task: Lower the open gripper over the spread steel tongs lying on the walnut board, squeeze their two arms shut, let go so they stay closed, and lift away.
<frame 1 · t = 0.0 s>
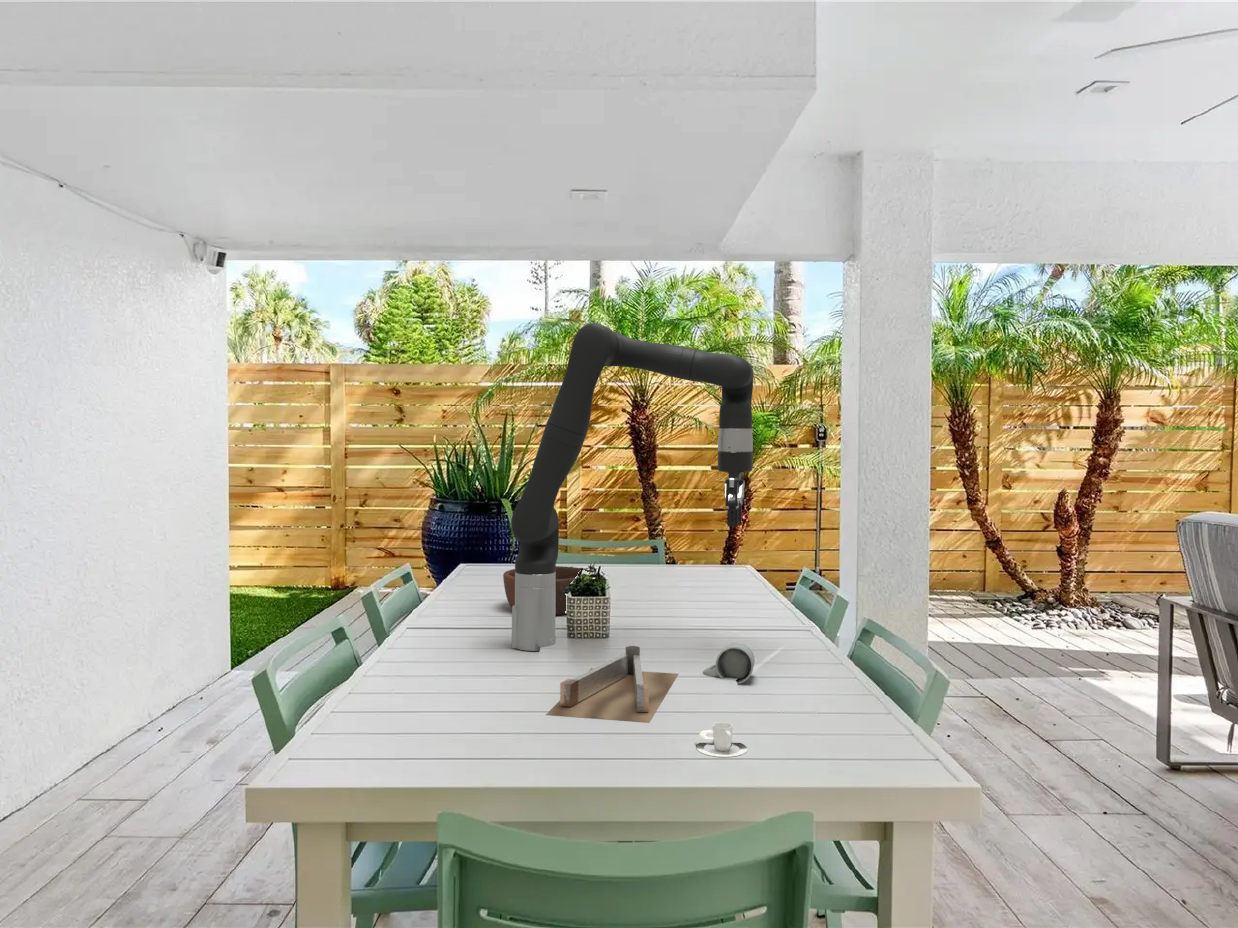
hand: (734, 524, 202), 29 cm above the table, tool pointing down, fingers open, 8 cm apart
ceramic mug: (729, 680, 186), on the table
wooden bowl: (548, 610, 258), on the table
tongs arm 2: (640, 681, 172), point 3 cm above the table, hinge at 13.0°
walnut board: (617, 697, 173), on the table
tongs arm 1: (596, 678, 174), point 3 cm above the table, hinge at 13.0°
teacup and saucer: (731, 747, 148), on the table
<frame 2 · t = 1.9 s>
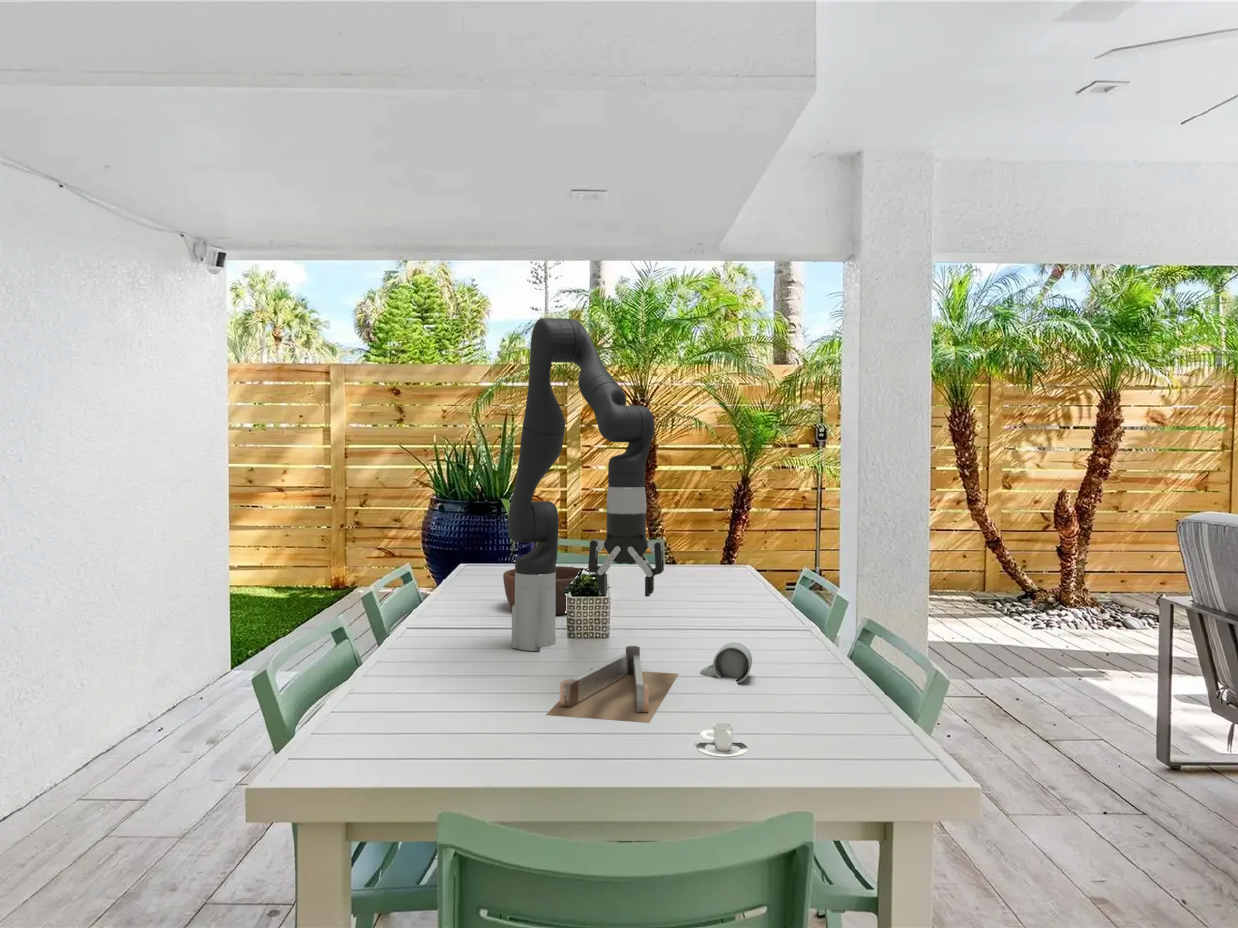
hand: (625, 594, 178), 18 cm above the table, tool pointing down, fingers open, 8 cm apart
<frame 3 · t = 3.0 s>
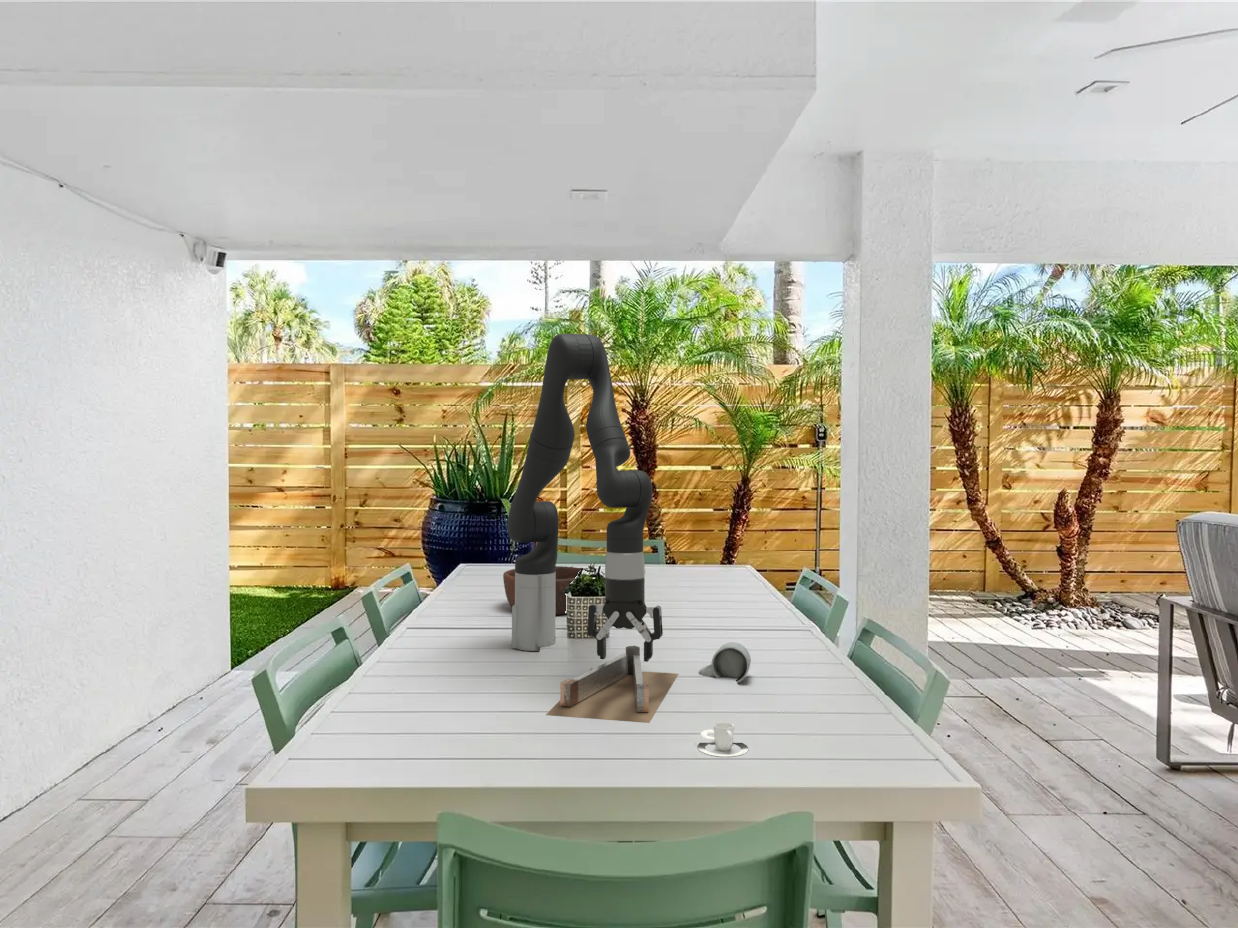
hand: (624, 659, 178), 6 cm above the table, tool pointing down, fingers open, 8 cm apart
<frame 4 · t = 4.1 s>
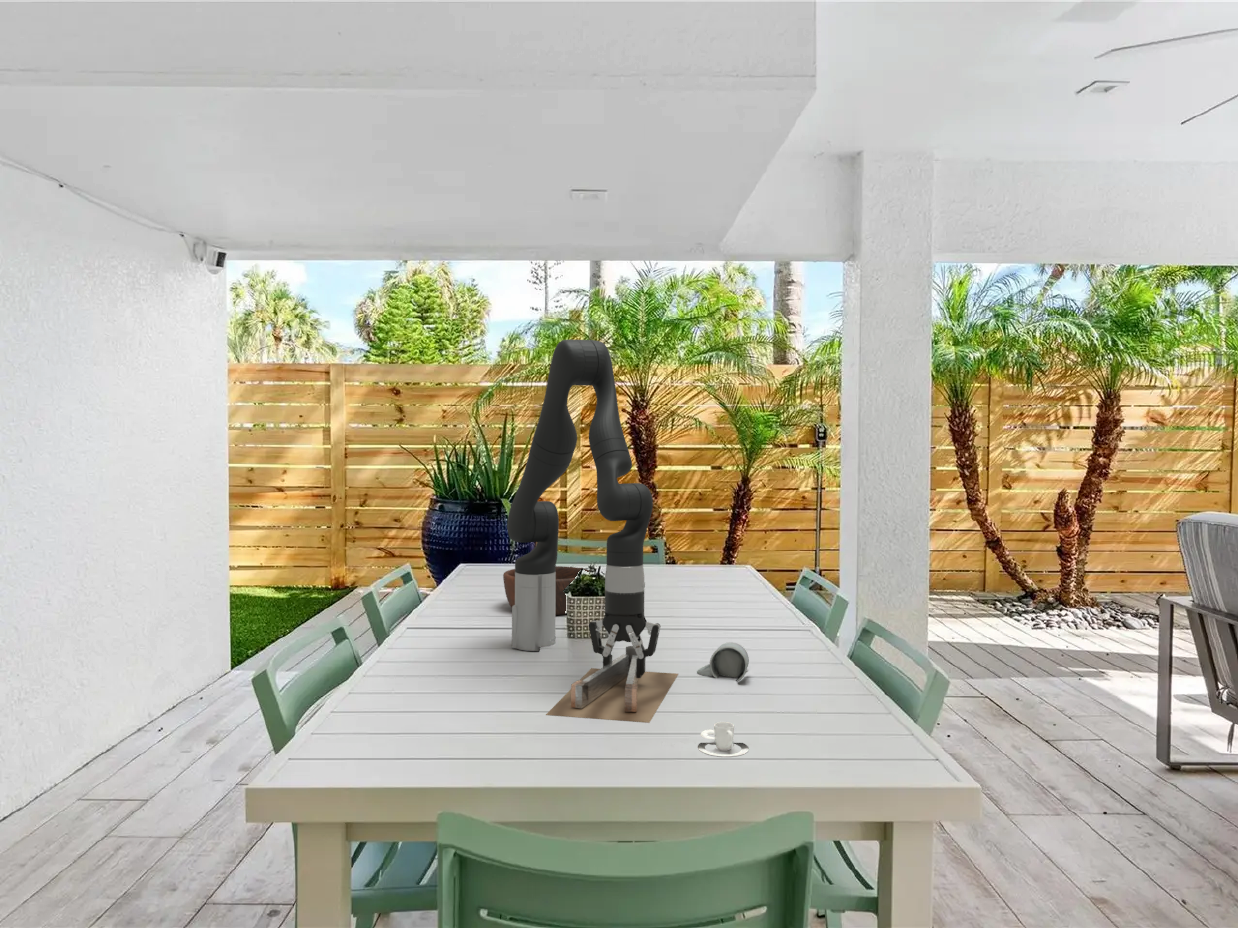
hand: (624, 675, 178), 3 cm above the table, tool pointing down, fingers open, 5 cm apart
tongs arm 2: (634, 681, 172), point 3 cm above the table, hinge at 8.3°, touching gripper
tongs arm 1: (601, 679, 174), point 3 cm above the table, hinge at 8.0°, touching gripper
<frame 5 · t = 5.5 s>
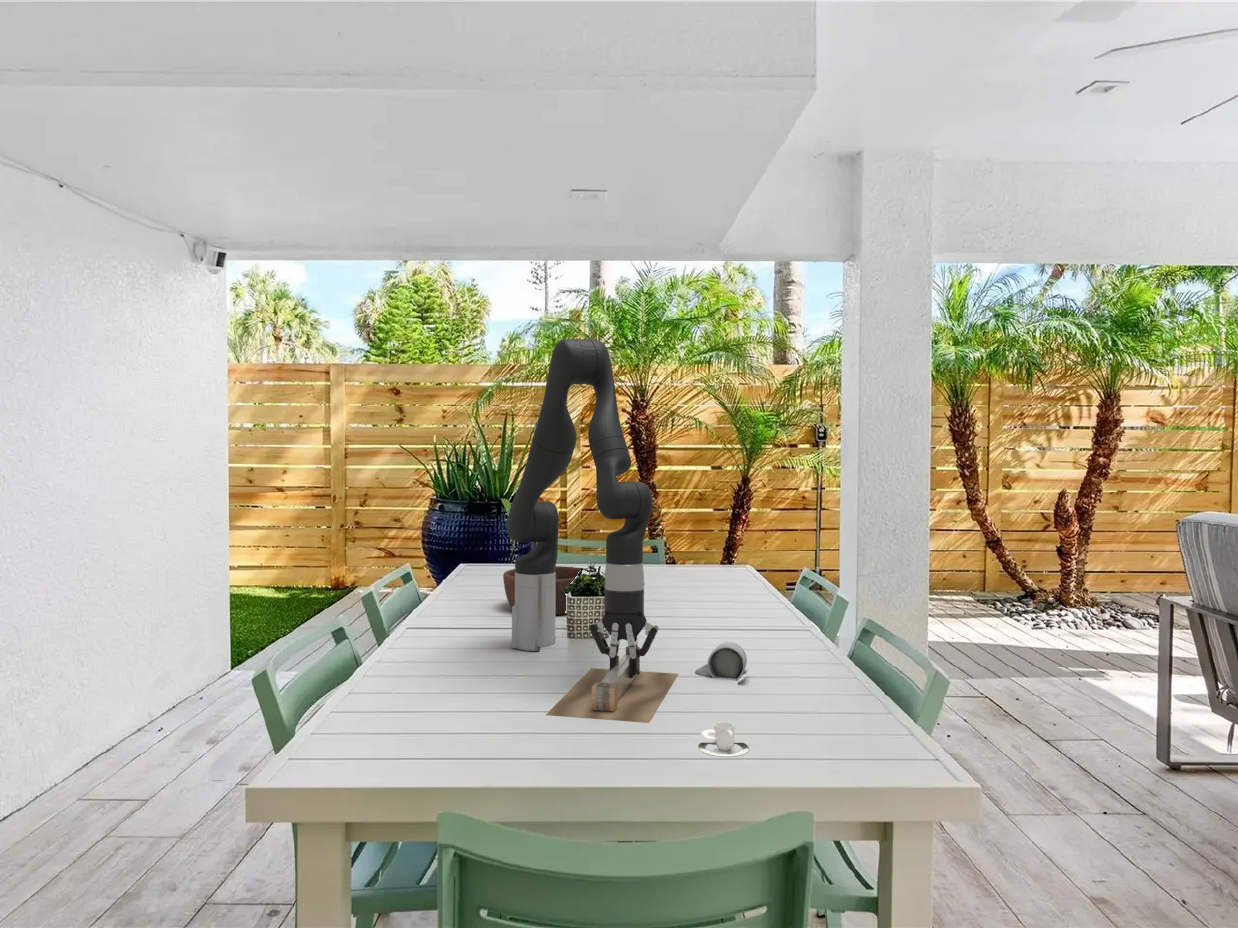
hand: (623, 676, 178), 3 cm above the table, tool pointing down, fingers closed
tongs arm 2: (623, 681, 173), point 3 cm above the table, hinge at -0.1°, touching gripper, tongs arm 1
tongs arm 1: (612, 680, 173), point 3 cm above the table, hinge at -0.4°, touching gripper, tongs arm 2
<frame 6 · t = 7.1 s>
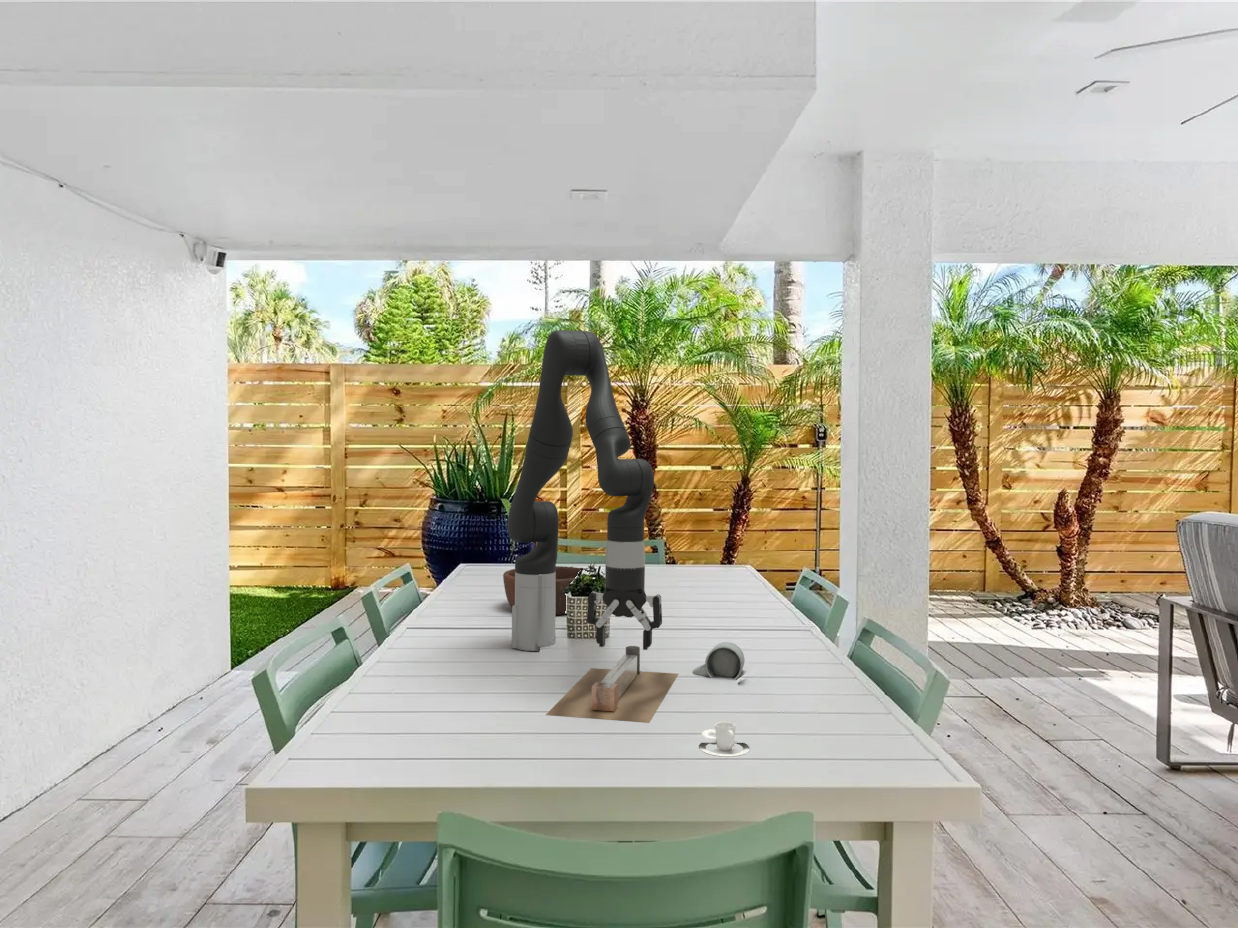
hand: (624, 647, 179), 8 cm above the table, tool pointing down, fingers open, 8 cm apart
tongs arm 2: (623, 681, 173), point 3 cm above the table, hinge at -0.1°, touching tongs arm 1
tongs arm 1: (612, 680, 173), point 3 cm above the table, hinge at -0.4°, touching tongs arm 2
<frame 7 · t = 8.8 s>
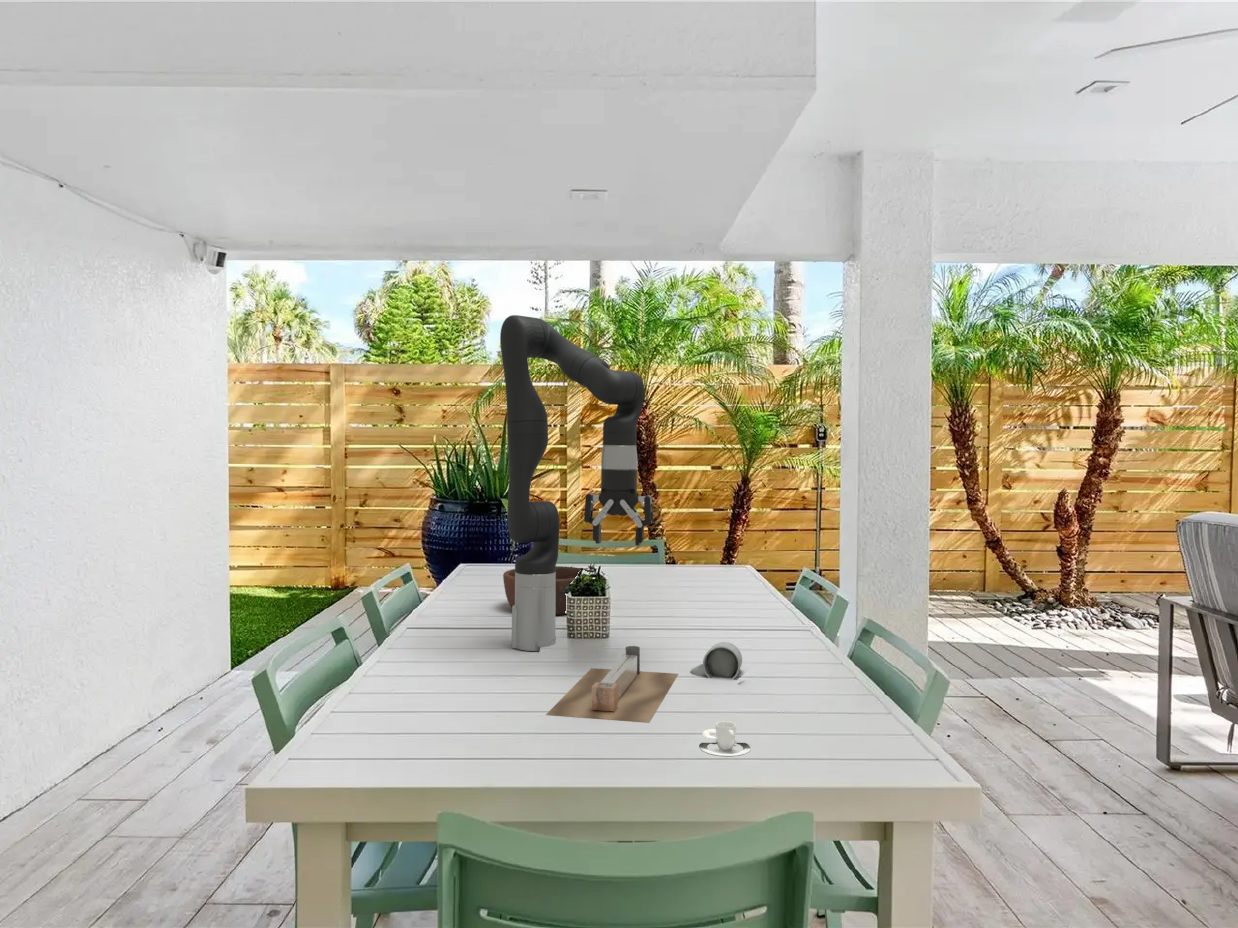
hand: (618, 544, 195), 26 cm above the table, tool pointing down, fingers open, 8 cm apart
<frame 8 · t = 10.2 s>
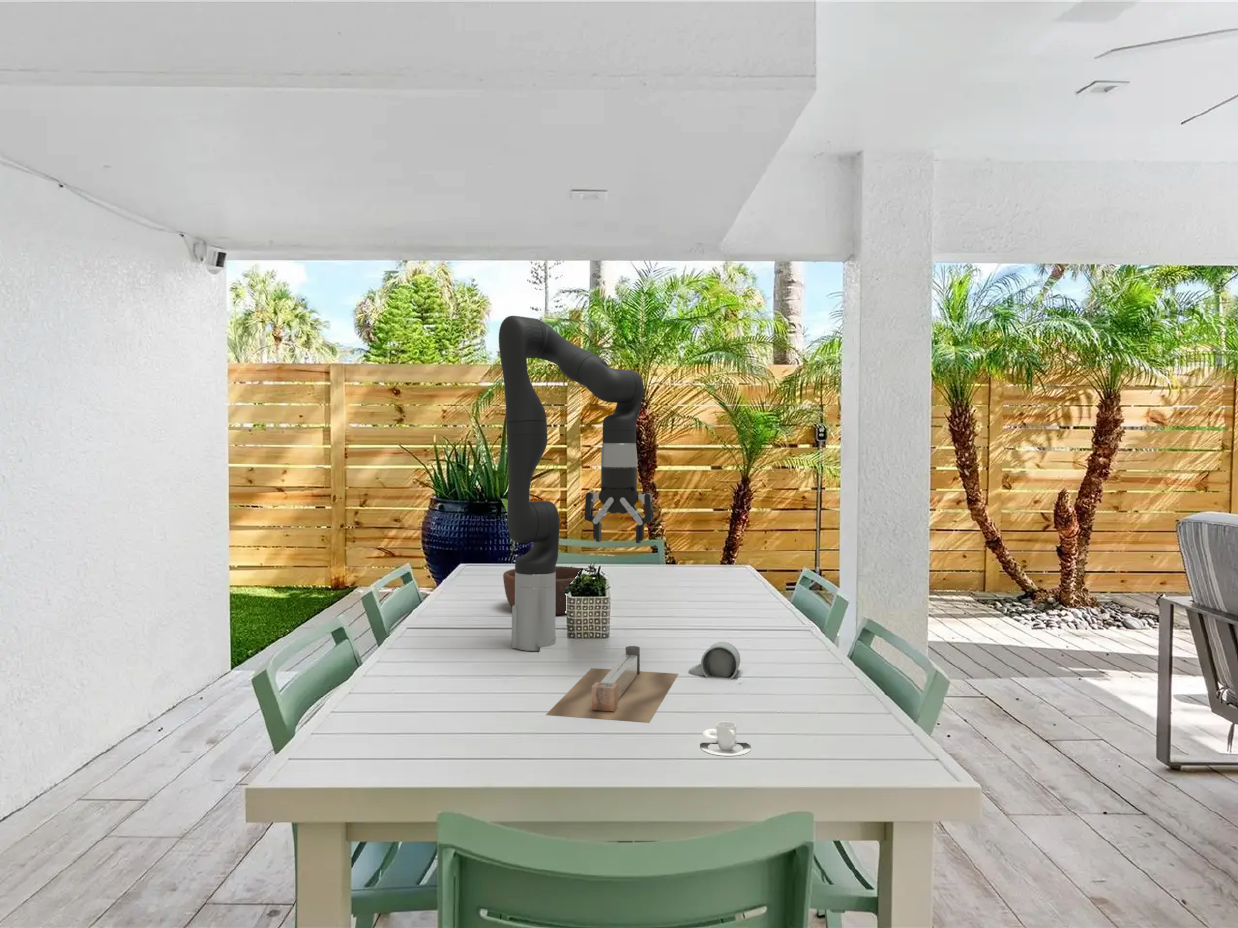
hand: (618, 542, 195), 26 cm above the table, tool pointing down, fingers open, 8 cm apart
at the end: tongs arm 2 at +0° (first picture: +13°); tongs arm 1 at +0° (first picture: +13°) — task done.
